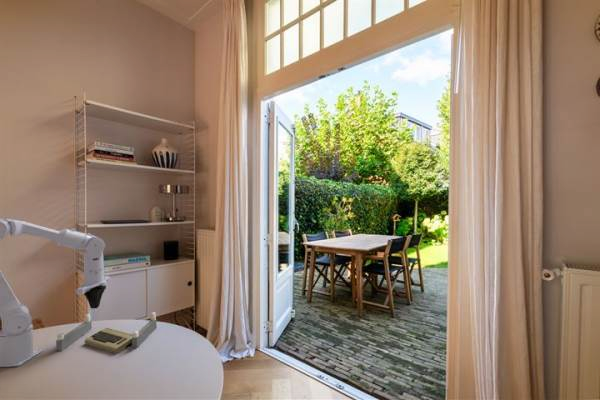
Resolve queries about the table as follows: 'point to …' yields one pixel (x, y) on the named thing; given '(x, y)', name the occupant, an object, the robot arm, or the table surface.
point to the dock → (86, 326)
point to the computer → (110, 340)
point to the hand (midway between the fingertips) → (94, 307)
